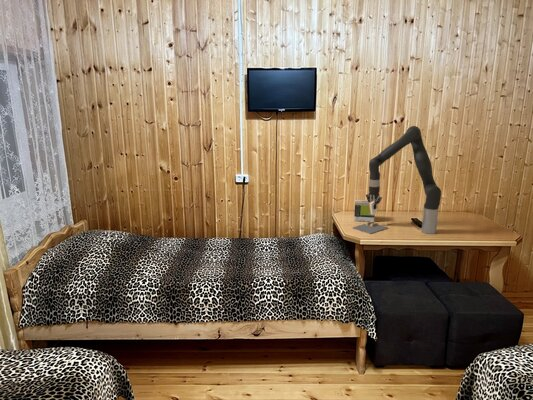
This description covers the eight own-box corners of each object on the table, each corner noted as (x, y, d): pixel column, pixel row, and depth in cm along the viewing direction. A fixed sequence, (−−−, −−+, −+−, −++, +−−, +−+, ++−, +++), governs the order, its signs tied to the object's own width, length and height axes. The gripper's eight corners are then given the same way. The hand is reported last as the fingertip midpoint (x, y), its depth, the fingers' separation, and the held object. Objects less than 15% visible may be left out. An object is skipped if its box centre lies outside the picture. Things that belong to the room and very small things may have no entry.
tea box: (373, 218, 297) (375, 200, 293) (374, 222, 287) (375, 203, 284) (354, 217, 300) (355, 199, 297) (353, 221, 291) (354, 202, 287)
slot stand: (371, 222, 284) (371, 220, 283) (378, 224, 279) (378, 222, 279) (365, 224, 280) (365, 222, 279) (371, 226, 275) (372, 224, 275)
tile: (375, 210, 280) (374, 199, 277) (377, 211, 279) (376, 200, 275) (370, 214, 278) (368, 203, 274) (372, 214, 276) (371, 203, 273)
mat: (370, 223, 286) (370, 222, 285) (388, 228, 273) (388, 227, 273) (352, 228, 274) (352, 227, 274) (370, 234, 261) (370, 233, 261)
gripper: (385, 186, 269) (384, 209, 274) (370, 183, 280) (369, 206, 284) (378, 187, 265) (377, 211, 269) (363, 184, 276) (362, 207, 280)
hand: (373, 208), depth 277 cm, fingers closed on tile, 1 cm apart
